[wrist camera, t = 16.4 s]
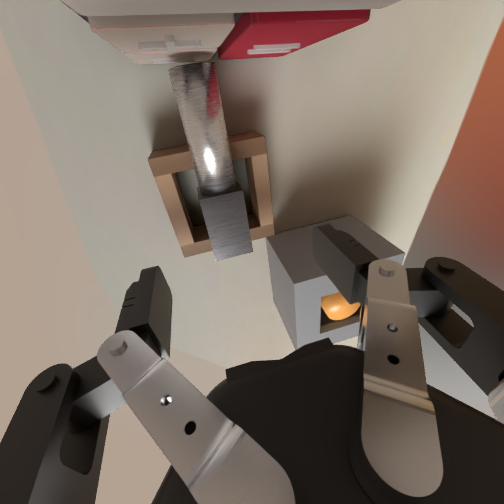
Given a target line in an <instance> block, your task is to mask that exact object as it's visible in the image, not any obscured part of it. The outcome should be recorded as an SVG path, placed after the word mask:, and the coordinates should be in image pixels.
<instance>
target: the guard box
mask: <svg viewBox="0 0 504 504" xmlns="http://www.w3.org/2000/svg"><path fill="white" fill-rule="evenodd" d="M327 223H329V224H330V225H331V226H333V227H334V228H335V229H336V230H341V231H344V232H346V233H349V234H350V235H351V236H352V237H354V238H355V239H356V240H357V241H358V242H360V243H361V245H363V246H364V247H366V248H367V249H368V250H369V251H370V252H372V253H373V254H374V255H375V256H376V257H377V258H379V259H387V260H392V261H395V262H397V263H399V264H401V265H402V262H403V259H404V255H405V253H404V252H403V251H402V250H400V249H399V248H397V247H396V246H394V245H393V244H392V243H390V242H389V241H387V240H386V239H385V238H383V237H382V236H380V235H379V234H377V233H376V232H375V231H373V230H372V229H370V228H369V227H367V226H366V225H365V224H363V223H362V222H360V221H359V220H357V219H356V218H355V217H353V216H352V215H348V216H344V217H340V218H336V219H332V220H328V221H324V222H320V223H317V224H313V225H309V226H305V227H301V228H297V229H293V230H289V231H285V232H281V233H277V234H275V235H272V236H268V237H266V243H267V251H268V259H269V267H270V275H271V283H272V291H273V299H274V303H275V305H276V307H277V309H278V312H279V314H280V316H281V318H282V321H283V323H284V325H285V327H286V330H287V332H288V334H289V336H290V339H291V341H292V343H293V345H294V348H295V350H297V349H299V348H300V347H302V346H303V345H306V344H309V343H312V342H315V341H318V340H322V339H325V338H328V337H329V338H330V340H331V342H332V343H333V344H334V343H337V342H340V341H343V340H346V339H350V338H353V337H356V336H358V334H359V322H360V311H361V305H360V307H359V308H358V309H357V311H356V312H355V313H353V314H352V315H351V316H349V317H347V318H345V319H341V320H332V319H330V318H329V317H328V316H327V314H326V313H325V311H324V310H323V308H322V307H321V297H323V296H327V295H330V294H334V293H337V292H339V290H338V289H337V288H336V287H335V285H334V284H333V283H332V281H331V280H330V279H329V278H328V276H327V275H326V274H325V273H324V271H323V270H322V269H321V268H320V266H319V265H318V264H317V263H316V261H315V259H314V256H313V228H314V227H315V226H319V225H323V224H327Z"/></svg>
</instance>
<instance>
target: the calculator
mask: <svg viewBox="0 0 504 504" xmlns="http://www.w3.org/2000/svg"><path fill="white" fill-rule="evenodd" d="M60 1H61V2H63V3H64V4H65V5H67V6H68V7H69V8H70V9H72V10H73V11H74V12H75V13H77V14H78V15H79V16H81V17H82V18H83V19H84V20H86V21H87V22H88V23H89V24H90V26H91V29H92V31H93V32H94V33H96V34H97V35H98V36H100V37H101V38H103V39H104V40H105V41H107V42H108V43H109V44H111V45H112V46H114V47H115V48H116V49H118V50H119V51H121V52H124V54H125V55H126V56H127V57H129V58H130V59H131V60H133V61H134V62H136V63H137V64H163V63H181V62H195V61H207V60H210V59H211V58H212V56H213V55H214V54H215V52H216V51H217V50H218V58H219V59H220V60H227V59H244V58H262V57H278V56H284V55H287V54H289V53H292V52H294V51H297V50H299V49H302V48H304V47H306V46H309V45H311V44H314V43H316V42H319V41H321V40H324V39H326V38H329V37H331V36H333V35H336V34H338V33H341V32H343V31H346V30H348V29H351V28H353V27H356V26H358V25H360V24H363V23H365V22H367V21H368V20H369V17H370V10H371V9H380V8H384V7H387V6H389V5H391V4H394V3H396V2H398V1H400V0H60Z"/></svg>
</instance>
